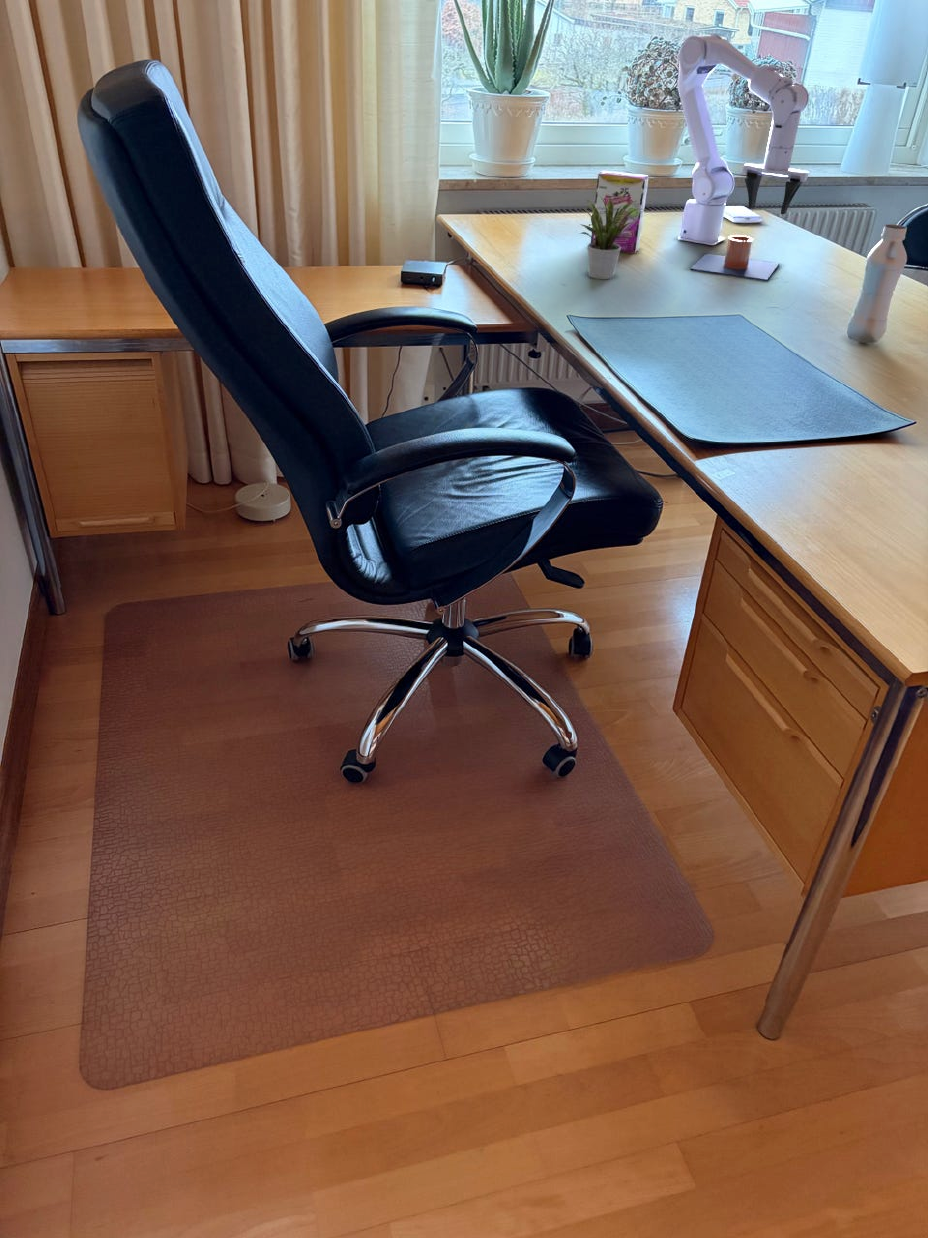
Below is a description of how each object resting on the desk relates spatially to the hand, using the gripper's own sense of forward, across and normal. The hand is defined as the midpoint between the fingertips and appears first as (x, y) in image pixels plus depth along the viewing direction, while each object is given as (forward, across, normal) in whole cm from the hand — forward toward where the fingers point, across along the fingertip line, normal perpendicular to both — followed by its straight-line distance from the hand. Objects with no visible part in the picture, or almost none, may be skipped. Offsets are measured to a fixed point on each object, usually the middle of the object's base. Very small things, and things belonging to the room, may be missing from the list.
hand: (767, 210), depth 214 cm
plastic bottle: (+10, +37, -50) cm, 63 cm away
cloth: (+9, 0, -16) cm, 19 cm away
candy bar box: (+10, -29, -19) cm, 36 cm away
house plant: (+10, -20, -41) cm, 47 cm away
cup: (+9, 0, -16) cm, 18 cm away
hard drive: (+10, -17, +34) cm, 39 cm away
